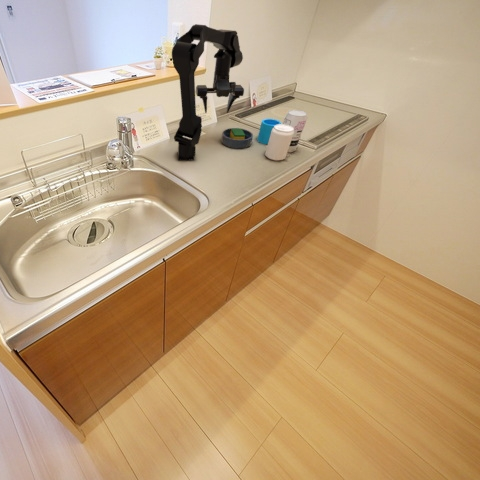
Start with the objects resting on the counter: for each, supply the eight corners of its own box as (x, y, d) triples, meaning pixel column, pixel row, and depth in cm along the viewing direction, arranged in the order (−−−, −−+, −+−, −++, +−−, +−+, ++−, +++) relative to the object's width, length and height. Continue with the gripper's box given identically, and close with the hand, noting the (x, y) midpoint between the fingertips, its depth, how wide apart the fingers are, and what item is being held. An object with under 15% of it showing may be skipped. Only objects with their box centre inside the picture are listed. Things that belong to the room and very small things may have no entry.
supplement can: (279, 143, 122) (290, 107, 112) (298, 148, 118) (311, 112, 108) (272, 149, 118) (283, 113, 107) (291, 155, 114) (304, 118, 104)
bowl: (224, 149, 118) (225, 140, 115) (218, 136, 127) (219, 128, 125) (254, 149, 118) (256, 140, 115) (246, 136, 128) (248, 127, 125)
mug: (268, 145, 120) (273, 127, 115) (253, 139, 125) (257, 121, 119) (284, 139, 125) (290, 120, 120) (269, 133, 130) (274, 115, 125)
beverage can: (289, 159, 111) (299, 130, 103) (273, 163, 109) (282, 133, 101) (276, 151, 117) (285, 122, 108) (260, 154, 115) (268, 125, 106)
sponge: (243, 145, 120) (245, 134, 117) (232, 145, 120) (234, 135, 117) (239, 138, 125) (241, 128, 122) (229, 138, 125) (231, 128, 122)
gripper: (201, 76, 100) (197, 119, 110) (251, 75, 100) (242, 119, 111) (197, 68, 108) (193, 110, 119) (244, 68, 108) (236, 109, 119)
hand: (216, 112), depth 116 cm, fingers open, 9 cm apart
